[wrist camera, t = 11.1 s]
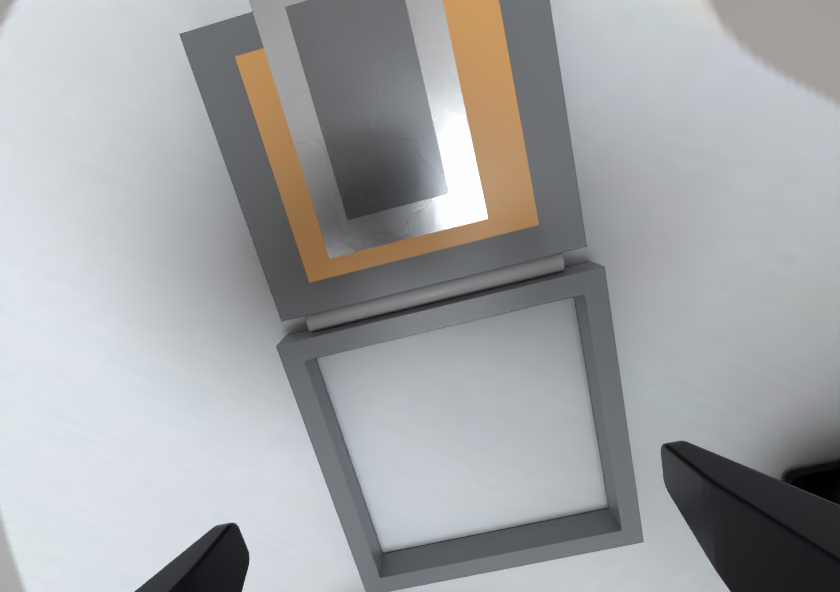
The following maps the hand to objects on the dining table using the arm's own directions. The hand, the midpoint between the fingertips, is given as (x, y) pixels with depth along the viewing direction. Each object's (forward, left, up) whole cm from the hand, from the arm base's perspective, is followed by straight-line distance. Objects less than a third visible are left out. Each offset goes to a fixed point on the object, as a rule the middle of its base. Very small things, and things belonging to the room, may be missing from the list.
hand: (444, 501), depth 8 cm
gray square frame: (0, +6, -12) cm, 13 cm away
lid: (0, -8, -12) cm, 14 cm away
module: (0, -8, -10) cm, 13 cm away
